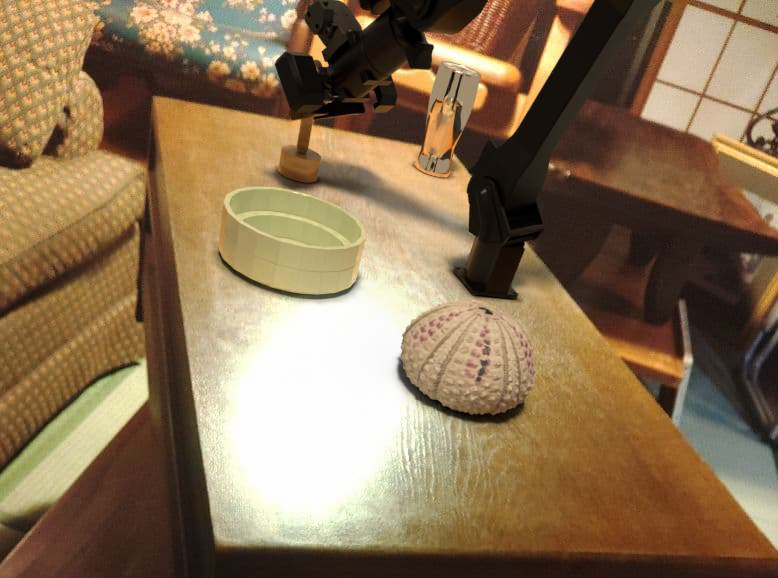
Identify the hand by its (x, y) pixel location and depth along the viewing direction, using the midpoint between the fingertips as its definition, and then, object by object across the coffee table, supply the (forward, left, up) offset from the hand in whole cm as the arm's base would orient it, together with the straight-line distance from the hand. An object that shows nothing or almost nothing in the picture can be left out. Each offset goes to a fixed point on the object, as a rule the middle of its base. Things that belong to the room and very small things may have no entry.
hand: (300, 116), depth 101 cm
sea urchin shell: (-54, -3, -7) cm, 55 cm away
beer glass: (+11, -27, -7) cm, 30 cm away
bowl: (-31, +8, -7) cm, 33 cm away
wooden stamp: (-1, -1, -7) cm, 7 cm away
